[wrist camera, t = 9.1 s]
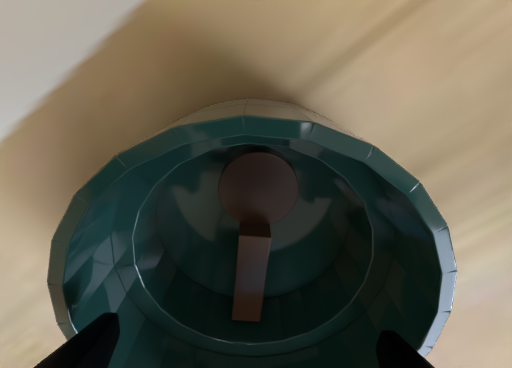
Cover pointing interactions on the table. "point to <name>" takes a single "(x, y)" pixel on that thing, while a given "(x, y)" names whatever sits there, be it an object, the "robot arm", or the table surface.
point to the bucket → (226, 244)
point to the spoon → (255, 218)
